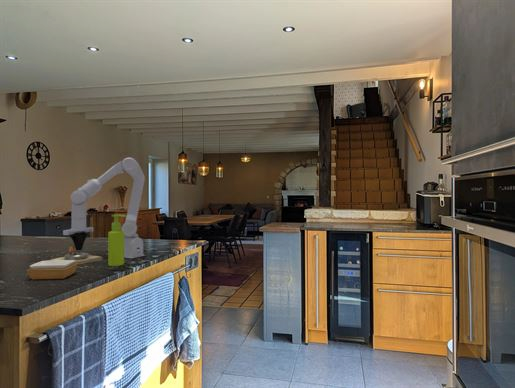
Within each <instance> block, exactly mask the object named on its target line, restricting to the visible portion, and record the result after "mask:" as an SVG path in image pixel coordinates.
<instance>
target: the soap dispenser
mask: <svg viewBox="0 0 515 388" xmlns="http://www.w3.org/2000/svg"><path fill="white" fill-rule="evenodd" d="M111 217H113V222H111V231H108V233H107V235H108V236H107V237H108V238H107V239H108V240H107V242H108V244H107V245H108V246H107V249H108V250H107V252H108V253H107V255H108V256H107V257H108V258H107V264H108V267H109V266H110V267H119V266H123V265H125V258H124V231H121V229H122V223H121V222H120V221H119V220H120V219H119V217H122V218H124V217H125V218H126V217H127V214H121V213H120V214H111Z"/></svg>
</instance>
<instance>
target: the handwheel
mask: <svg viewBox="0 0 515 388" xmlns="http://www.w3.org/2000/svg"><path fill="white" fill-rule="evenodd" d="M68 249H69V251H68V253H67V254H64V256H63V257H64V258H65V259H83V258H87V257H89V255H90V254H89V253H88V252H80V251H75V245H74V246H69V247H68Z"/></svg>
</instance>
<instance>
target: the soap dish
mask: <svg viewBox="0 0 515 388" xmlns="http://www.w3.org/2000/svg"><path fill="white" fill-rule="evenodd" d="M78 265H79V264H78V263H75V260H41V261H39V262H35V263H33V264H31V265H29V268H28V269H27V270H26V272H27V274H28V276H29V278H30V279H31V280H53V279H55V280H57V279H58V280H60V279H61V280H63V279H66V278H68V277H70V276H71V275H73V274H75V272H76V270H77V268H78Z"/></svg>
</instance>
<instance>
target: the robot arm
mask: <svg viewBox="0 0 515 388" xmlns="http://www.w3.org/2000/svg"><path fill="white" fill-rule="evenodd" d="M125 172H126V173H127V174H128V175H129V176H130V177H131V178H132V179H133V184H132V189H131V194H130V199H129V203H128V208H127V212H126V217H125V222H124V223H123V225H121V231H124V259H135V258H141V257H144V256H146V255H145V254H144V241H143V239H142V238H141V237H139V234H138V233H137V230H138V225H137V219H138V215H139V214H138V213H139V210H140V205H141V200H142V195H143V190H144V186H145V181H146V177H145V175H144V172H143V169H142V168H141V165H140V164H139V162H137V161H136V159H134V158H133V157H125V158H123V160H121V161H119V162H117V163H116V164H114V165H112V167H111V168H109V169H108V170H106V172H104V173H103V174H102V175H100V176H99V177H98V178H91V179H88V180H87V181H86V183H85V184H83V186H81V187H80V186H79V187H78V188H77V190H74V191H73V192H72V193H71V194H70V201H71V228H69V229H64V230H62V235H63V236H69V237H70V238H71V240H72V243H73V245H74V249H75V251H82V250H83V248H84V244H85V242H86V239H87V237H88V236H89V235H88V234H89V233H93V232H94V227H93V226H91V227H90V226H89V227H88V226H87V201H88V199H91V197H93V196H94V195H96V194H97V193H98V192H99V191H101V190H102V188H103V185H104V184H105V183H107V182H108V181H109V180H111V179H112V178H113V177H114V176H116V175H119V174H124V173H125Z"/></svg>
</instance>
